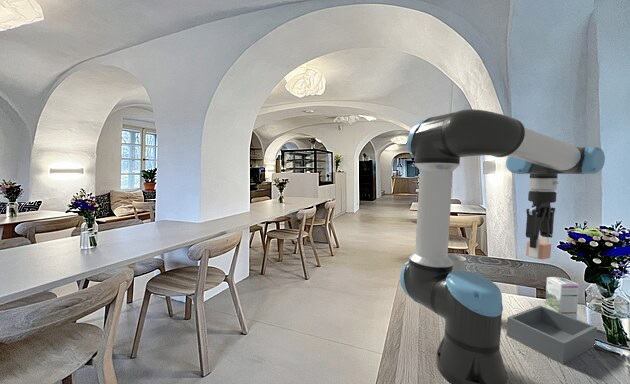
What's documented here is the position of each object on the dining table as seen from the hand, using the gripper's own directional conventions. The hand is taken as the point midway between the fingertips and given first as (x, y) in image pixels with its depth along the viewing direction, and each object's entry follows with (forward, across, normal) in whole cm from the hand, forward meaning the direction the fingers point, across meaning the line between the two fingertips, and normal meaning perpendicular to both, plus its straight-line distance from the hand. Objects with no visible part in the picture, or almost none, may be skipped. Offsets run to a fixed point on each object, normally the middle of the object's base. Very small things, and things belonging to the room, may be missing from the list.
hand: (538, 255), depth 96 cm
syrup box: (+20, -4, -9) cm, 22 cm away
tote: (+20, -18, -12) cm, 29 cm away
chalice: (+20, -24, +14) cm, 35 cm away
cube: (0, 0, 0) cm, 0 cm away
